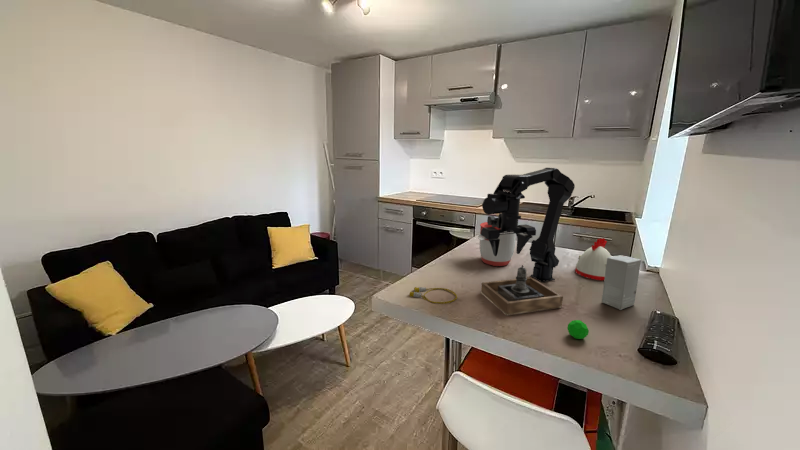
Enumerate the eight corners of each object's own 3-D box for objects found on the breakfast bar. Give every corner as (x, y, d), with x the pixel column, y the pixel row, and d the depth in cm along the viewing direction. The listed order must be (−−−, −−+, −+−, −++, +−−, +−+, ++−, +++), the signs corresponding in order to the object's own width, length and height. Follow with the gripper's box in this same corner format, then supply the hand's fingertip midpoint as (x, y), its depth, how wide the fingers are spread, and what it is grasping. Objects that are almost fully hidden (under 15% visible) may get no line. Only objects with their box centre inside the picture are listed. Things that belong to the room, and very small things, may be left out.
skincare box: (620, 311, 101) (629, 263, 97) (598, 301, 107) (605, 256, 104) (635, 305, 105) (644, 259, 101) (613, 296, 111) (620, 253, 107)
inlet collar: (523, 290, 114) (524, 282, 114) (543, 304, 105) (544, 295, 104) (497, 293, 112) (498, 285, 111) (515, 307, 102) (515, 299, 101)
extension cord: (424, 285, 121) (424, 280, 121) (462, 296, 112) (462, 291, 112) (405, 296, 112) (405, 291, 111) (445, 310, 103) (445, 304, 102)
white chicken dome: (622, 277, 128) (628, 241, 125) (600, 283, 122) (606, 245, 119) (589, 265, 140) (594, 232, 137) (567, 270, 134) (572, 236, 131)
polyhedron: (562, 333, 89) (564, 318, 88) (576, 331, 90) (578, 315, 89) (576, 344, 84) (579, 327, 83) (591, 340, 86) (594, 324, 84)
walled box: (530, 287, 118) (531, 277, 117) (561, 307, 103) (563, 296, 102) (481, 293, 113) (481, 282, 112) (506, 315, 98) (507, 303, 97)
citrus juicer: (467, 259, 147) (469, 217, 143) (497, 254, 154) (500, 214, 150) (490, 271, 133) (493, 224, 129) (521, 265, 141) (526, 220, 136)
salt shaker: (525, 294, 111) (528, 262, 108) (531, 302, 105) (534, 268, 102) (508, 294, 111) (510, 261, 108) (513, 302, 106) (516, 268, 103)
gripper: (519, 206, 121) (515, 246, 124) (474, 209, 116) (472, 250, 119) (539, 212, 110) (534, 255, 114) (490, 215, 105) (487, 260, 109)
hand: (506, 254), depth 114 cm, fingers open, 9 cm apart
